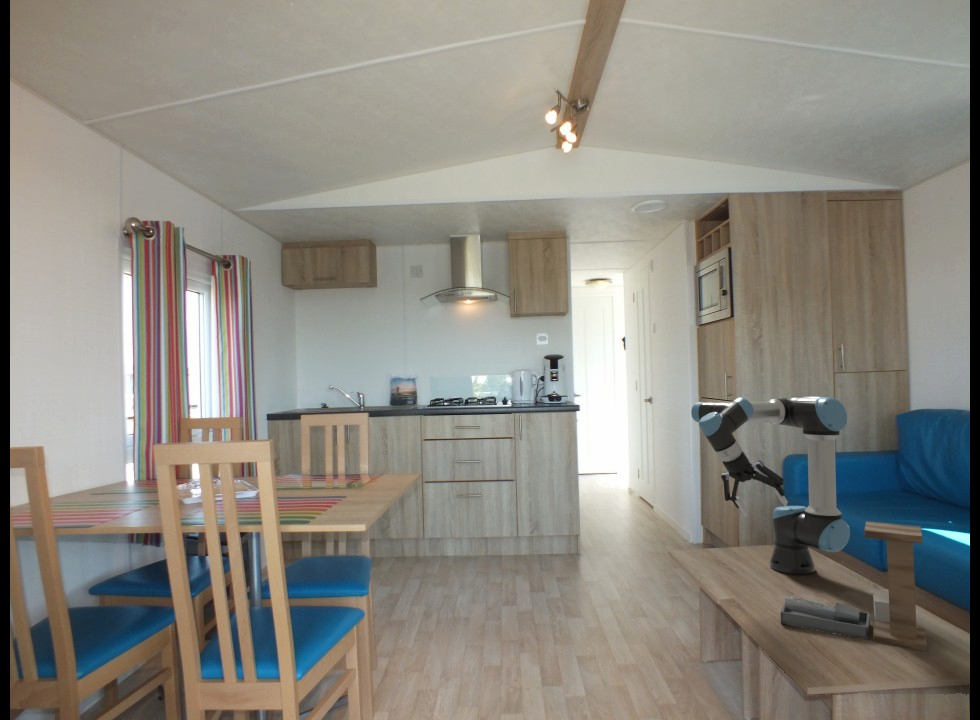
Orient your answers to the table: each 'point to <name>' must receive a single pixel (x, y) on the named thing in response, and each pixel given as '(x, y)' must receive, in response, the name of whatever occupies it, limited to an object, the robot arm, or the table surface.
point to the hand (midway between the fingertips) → (766, 509)
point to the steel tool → (823, 610)
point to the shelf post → (899, 585)
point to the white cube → (881, 608)
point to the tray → (828, 623)
